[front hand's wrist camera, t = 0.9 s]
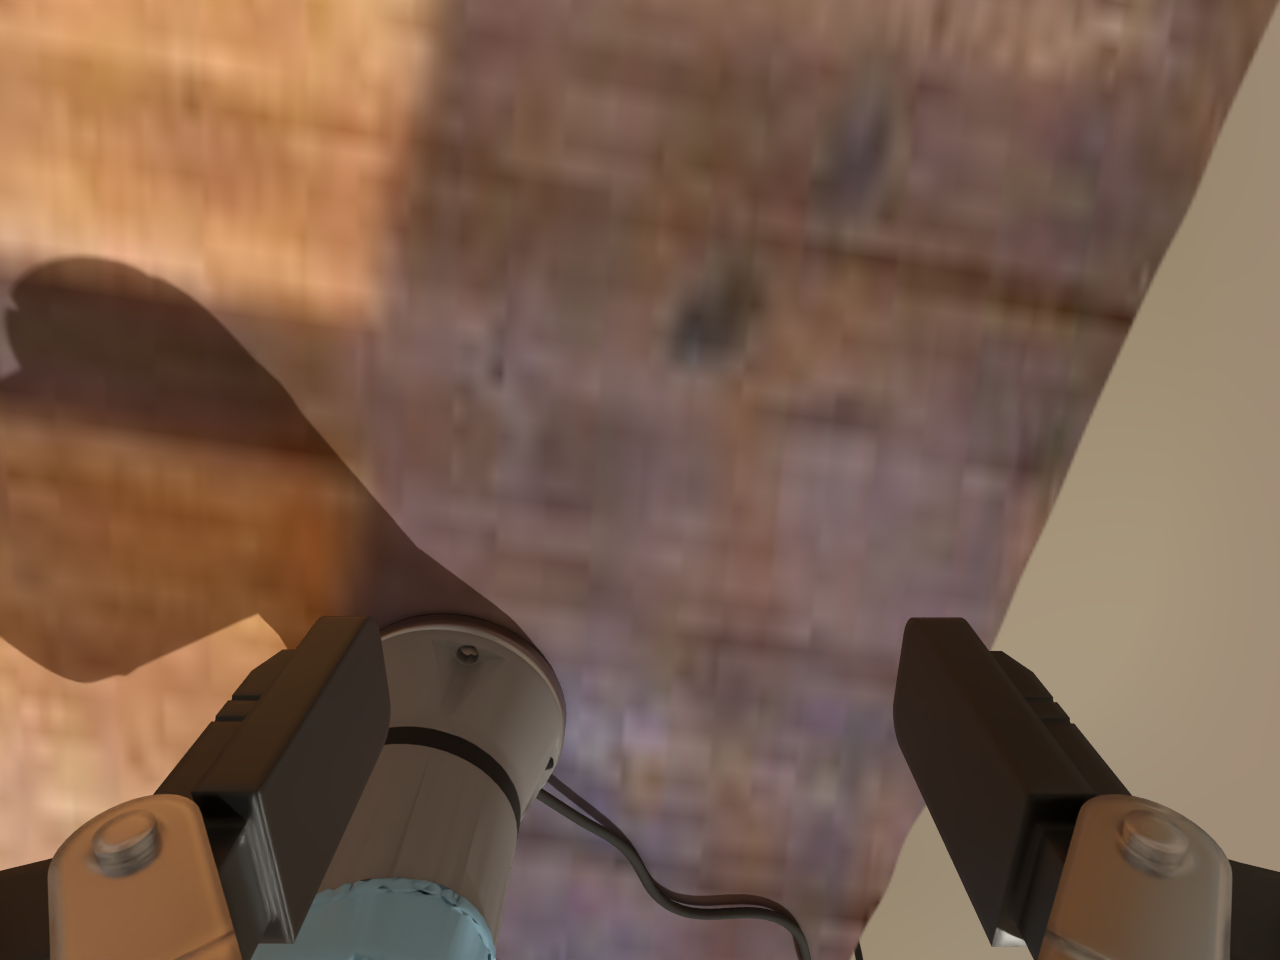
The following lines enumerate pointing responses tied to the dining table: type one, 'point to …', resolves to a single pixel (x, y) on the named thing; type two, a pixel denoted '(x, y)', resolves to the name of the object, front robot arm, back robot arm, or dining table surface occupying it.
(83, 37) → the dining table surface
